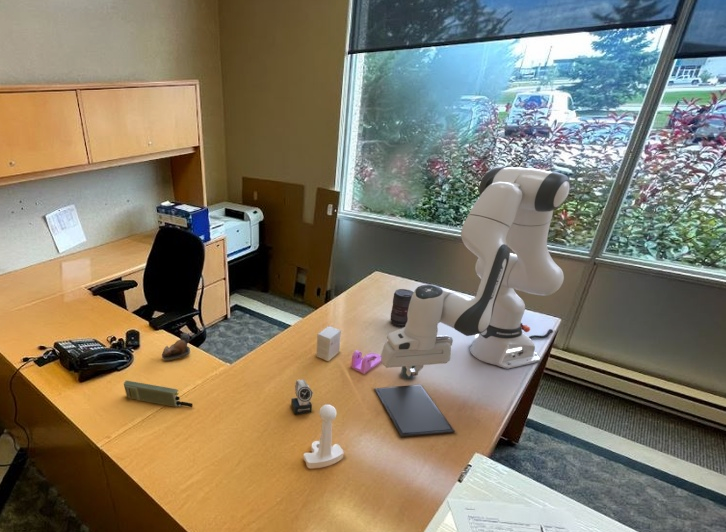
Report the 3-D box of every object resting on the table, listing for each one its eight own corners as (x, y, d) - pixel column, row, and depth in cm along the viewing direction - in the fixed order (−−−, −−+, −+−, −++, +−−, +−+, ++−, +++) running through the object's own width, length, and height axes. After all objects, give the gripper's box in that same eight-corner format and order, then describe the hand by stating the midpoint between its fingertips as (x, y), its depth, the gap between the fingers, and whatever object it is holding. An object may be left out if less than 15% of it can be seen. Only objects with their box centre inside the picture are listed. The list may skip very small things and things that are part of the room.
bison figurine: (163, 364, 163) (160, 343, 158) (161, 355, 169) (157, 334, 164) (193, 358, 166) (190, 337, 161) (189, 349, 172) (187, 328, 167)
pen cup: (410, 372, 150) (414, 351, 145) (415, 379, 146) (420, 358, 141) (398, 373, 150) (402, 352, 145) (403, 380, 146) (407, 359, 141)
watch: (296, 418, 133) (297, 392, 127) (289, 402, 140) (290, 376, 134) (313, 416, 133) (315, 389, 128) (305, 399, 140) (306, 374, 135)
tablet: (420, 386, 143) (420, 384, 142) (454, 433, 123) (454, 430, 123) (374, 390, 142) (374, 388, 142) (401, 437, 123) (401, 435, 123)
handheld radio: (130, 393, 149) (194, 404, 142) (126, 399, 147) (190, 411, 139) (127, 378, 146) (192, 389, 138) (122, 384, 143) (188, 396, 136)
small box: (327, 347, 166) (328, 325, 161) (339, 352, 163) (341, 330, 158) (315, 356, 162) (317, 333, 156) (328, 361, 158) (329, 338, 153)
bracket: (363, 374, 150) (365, 359, 147) (350, 368, 154) (352, 352, 150) (384, 360, 157) (386, 345, 153) (371, 354, 161) (373, 339, 157)
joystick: (310, 471, 115) (313, 417, 105) (297, 451, 121) (299, 399, 111) (345, 460, 117) (351, 406, 107) (331, 441, 124) (336, 389, 114)
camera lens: (412, 328, 175) (418, 296, 168) (393, 328, 175) (398, 297, 168) (405, 318, 182) (411, 287, 175) (386, 319, 182) (391, 288, 175)
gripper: (448, 329, 126) (439, 366, 133) (381, 334, 126) (376, 371, 133) (459, 340, 121) (449, 378, 128) (390, 346, 121) (384, 383, 127)
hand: (411, 374), depth 130 cm, fingers closed
